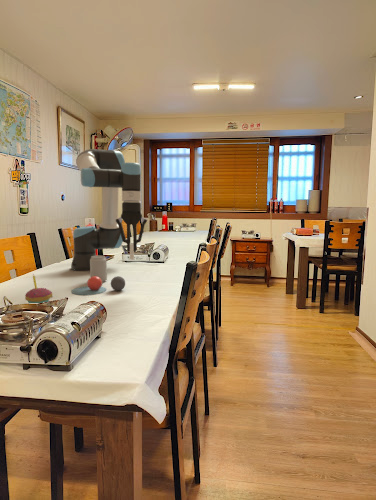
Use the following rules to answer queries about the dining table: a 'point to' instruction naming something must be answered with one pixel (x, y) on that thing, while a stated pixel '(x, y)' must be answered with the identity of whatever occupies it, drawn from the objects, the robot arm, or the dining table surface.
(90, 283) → the object ball
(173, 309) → the dining table surface
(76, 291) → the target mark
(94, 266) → the can
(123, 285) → the dark grey ball
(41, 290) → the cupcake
